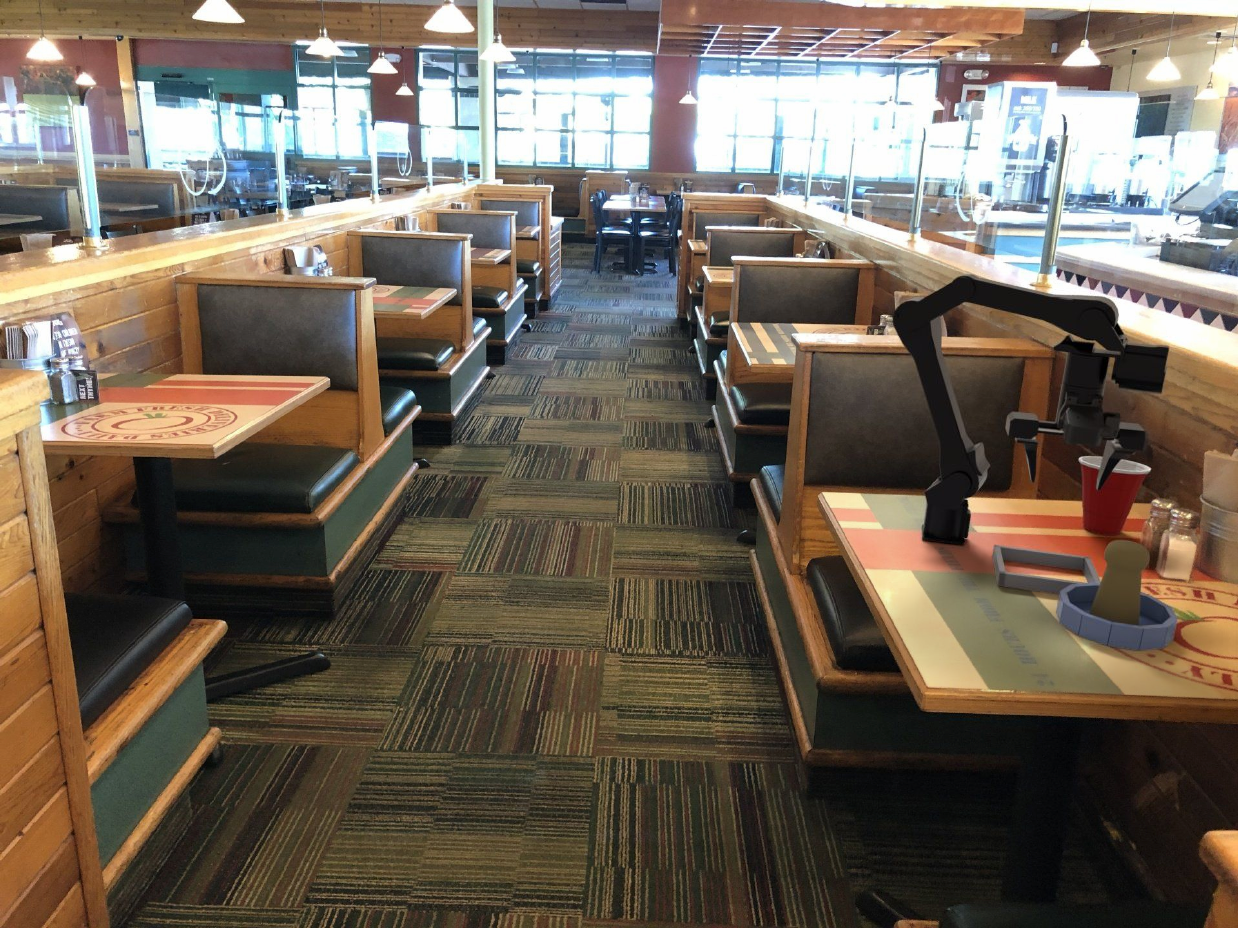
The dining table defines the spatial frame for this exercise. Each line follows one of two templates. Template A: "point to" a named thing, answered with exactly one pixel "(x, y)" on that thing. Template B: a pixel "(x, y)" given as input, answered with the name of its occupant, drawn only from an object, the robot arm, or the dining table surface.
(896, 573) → the dining table surface
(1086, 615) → the bowl
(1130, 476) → the plastic cup
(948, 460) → the robot arm
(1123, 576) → the olive game pawn
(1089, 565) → the open gray frame
